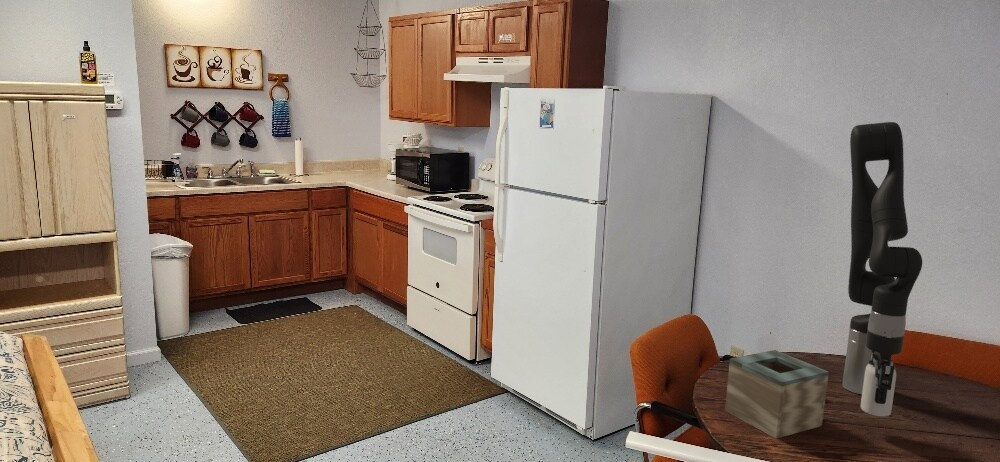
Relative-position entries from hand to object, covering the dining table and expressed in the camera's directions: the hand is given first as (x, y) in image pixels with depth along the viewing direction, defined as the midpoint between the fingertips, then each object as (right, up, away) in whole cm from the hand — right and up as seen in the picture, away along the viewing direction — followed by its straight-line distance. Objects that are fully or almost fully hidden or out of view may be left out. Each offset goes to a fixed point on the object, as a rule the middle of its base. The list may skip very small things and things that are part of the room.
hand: (877, 396), depth 163 cm
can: (0, -4, +1) cm, 4 cm away
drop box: (-22, -7, +7) cm, 24 cm away
